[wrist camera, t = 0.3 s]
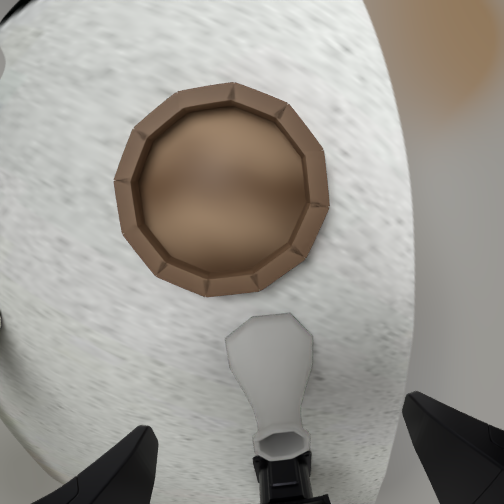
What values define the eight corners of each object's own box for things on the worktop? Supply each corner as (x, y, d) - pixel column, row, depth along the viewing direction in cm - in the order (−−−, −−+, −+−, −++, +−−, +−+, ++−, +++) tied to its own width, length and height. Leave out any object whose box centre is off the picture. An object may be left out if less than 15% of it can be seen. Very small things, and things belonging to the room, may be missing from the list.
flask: (324, 365, 23) (358, 453, 13) (247, 393, 24) (248, 485, 14) (296, 296, 21) (329, 381, 12) (209, 331, 22) (188, 425, 12)
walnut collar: (329, 274, 21) (338, 284, 19) (145, 295, 21) (135, 307, 19) (309, 83, 17) (316, 72, 15) (117, 113, 18) (103, 107, 15)
